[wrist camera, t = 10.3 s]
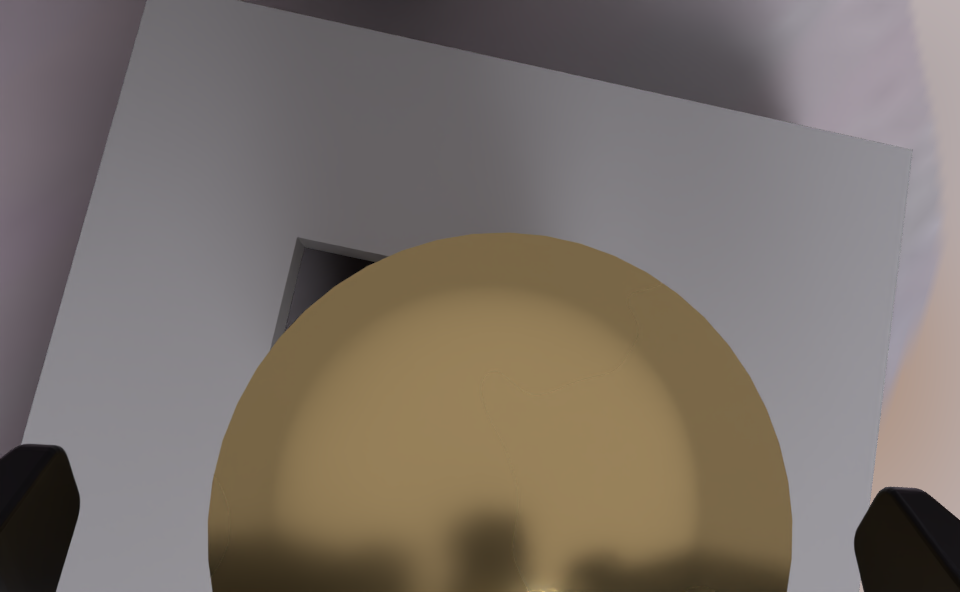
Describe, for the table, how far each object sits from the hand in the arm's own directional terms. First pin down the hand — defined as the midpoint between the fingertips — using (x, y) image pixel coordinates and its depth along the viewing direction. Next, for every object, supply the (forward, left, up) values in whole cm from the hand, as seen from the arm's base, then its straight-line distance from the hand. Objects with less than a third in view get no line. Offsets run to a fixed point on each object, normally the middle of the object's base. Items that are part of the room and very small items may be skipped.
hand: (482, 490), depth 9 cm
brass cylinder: (0, 0, -11) cm, 11 cm away
